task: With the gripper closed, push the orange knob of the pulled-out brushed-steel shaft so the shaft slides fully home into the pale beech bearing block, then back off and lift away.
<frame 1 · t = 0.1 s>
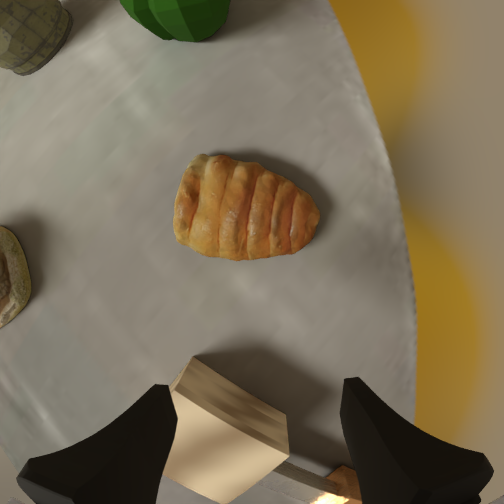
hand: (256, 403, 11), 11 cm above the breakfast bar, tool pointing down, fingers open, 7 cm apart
bell pepper: (193, 22, 20), on the breakfast bar
shaft: (285, 478, 20), point 3 cm above the breakfast bar, slide at -5.0 cm
bearing block: (213, 418, 23), on the breakfast bar
pastry: (239, 207, 22), on the breakfast bar
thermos: (41, 42, 21), on the breakfast bar
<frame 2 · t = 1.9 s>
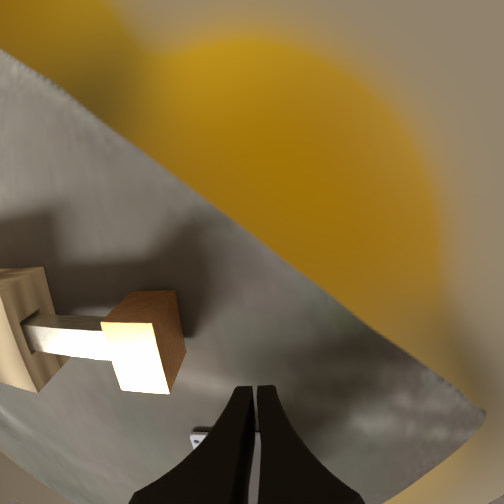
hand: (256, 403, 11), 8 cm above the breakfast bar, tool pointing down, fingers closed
shaft: (64, 334, 17), point 3 cm above the breakfast bar, slide at -5.0 cm
bearing block: (21, 312, 20), on the breakfast bar
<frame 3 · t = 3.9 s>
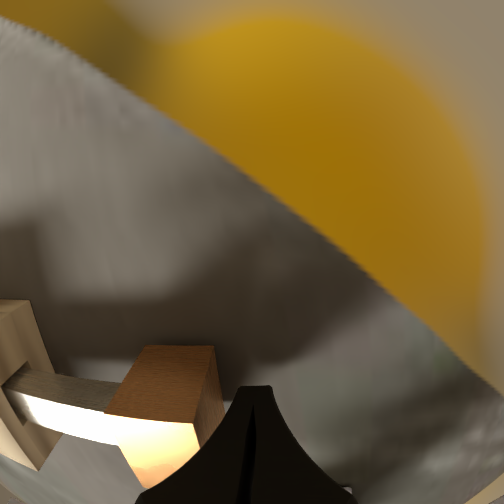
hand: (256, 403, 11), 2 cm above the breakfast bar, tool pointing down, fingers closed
shaft: (51, 401, 11), point 3 cm above the breakfast bar, slide at -4.1 cm, touching gripper
bearing block: (6, 355, 14), on the breakfast bar
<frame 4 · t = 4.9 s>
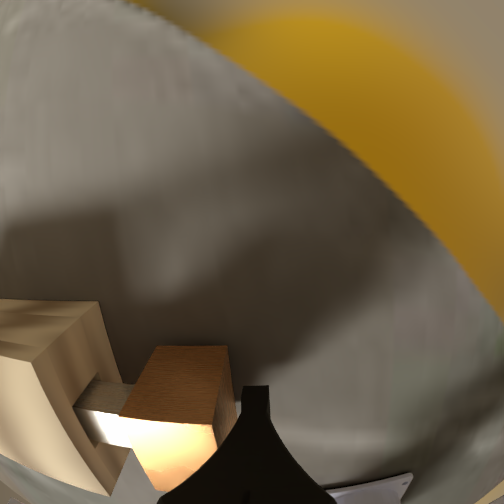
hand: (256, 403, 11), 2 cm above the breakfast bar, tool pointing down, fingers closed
shaft: (59, 403, 11), point 3 cm above the breakfast bar, slide at 0.1 cm, touching gripper
bearing block: (54, 364, 14), on the breakfast bar
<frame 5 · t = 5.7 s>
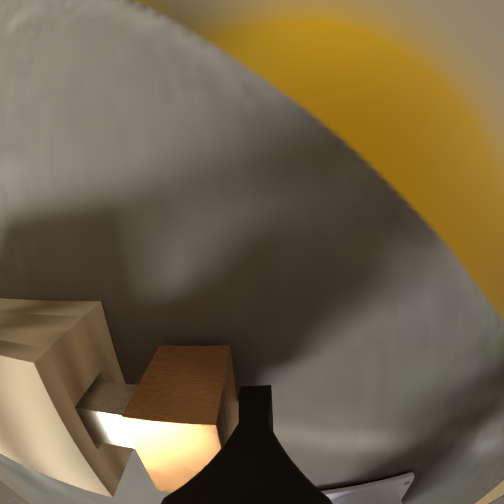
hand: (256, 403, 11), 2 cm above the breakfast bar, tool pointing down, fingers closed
shaft: (60, 403, 11), point 3 cm above the breakfast bar, slide at 0.2 cm, touching gripper
bearing block: (56, 364, 14), on the breakfast bar
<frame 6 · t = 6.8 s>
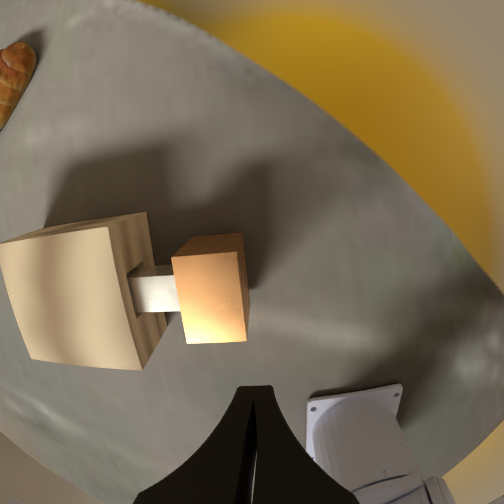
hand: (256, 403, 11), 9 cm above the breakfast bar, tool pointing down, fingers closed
shaft: (109, 290, 17), point 3 cm above the breakfast bar, slide at 0.0 cm
bearing block: (99, 276, 20), on the breakfast bar
pastry: (1, 97, 17), on the breakfast bar
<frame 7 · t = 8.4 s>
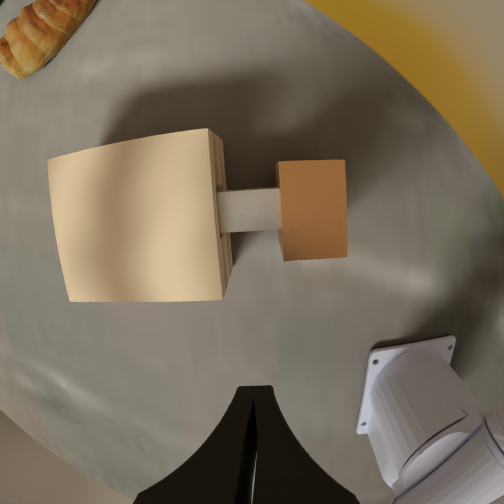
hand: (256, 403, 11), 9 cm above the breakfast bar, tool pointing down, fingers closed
shaft: (183, 213, 16), point 3 cm above the breakfast bar, slide at 0.0 cm
bearing block: (158, 210, 19), on the breakfast bar
pastry: (50, 33, 16), on the breakfast bar
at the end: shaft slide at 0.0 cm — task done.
